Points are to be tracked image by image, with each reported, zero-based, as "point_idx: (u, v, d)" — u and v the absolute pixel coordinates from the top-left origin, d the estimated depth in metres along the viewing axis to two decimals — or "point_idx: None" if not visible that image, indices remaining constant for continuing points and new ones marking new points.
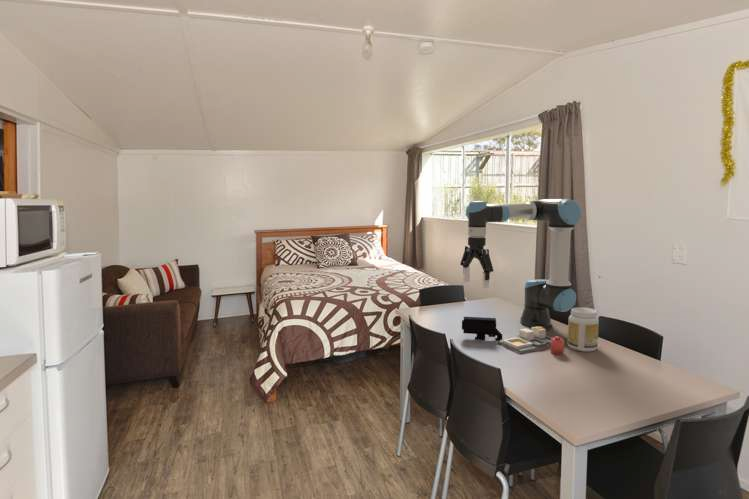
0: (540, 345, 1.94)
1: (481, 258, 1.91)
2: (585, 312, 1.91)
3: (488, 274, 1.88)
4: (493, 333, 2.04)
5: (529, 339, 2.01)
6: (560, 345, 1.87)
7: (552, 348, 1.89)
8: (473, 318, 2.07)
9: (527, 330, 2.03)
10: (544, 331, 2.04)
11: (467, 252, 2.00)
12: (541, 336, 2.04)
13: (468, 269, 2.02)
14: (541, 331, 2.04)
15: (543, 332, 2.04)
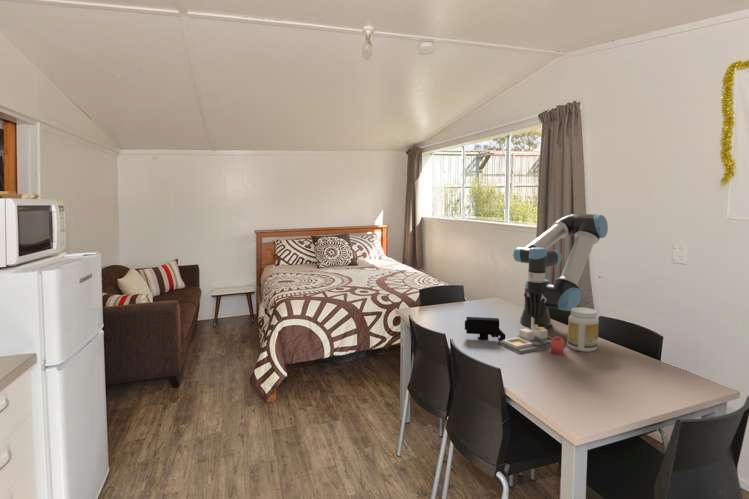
0: (540, 345, 1.94)
1: (537, 303, 2.04)
2: (585, 312, 1.91)
3: (537, 319, 2.06)
4: (496, 333, 2.04)
5: (529, 339, 2.01)
6: (560, 345, 1.87)
7: (552, 348, 1.89)
8: (476, 318, 2.07)
9: (527, 330, 2.03)
10: (546, 332, 2.04)
11: (528, 298, 2.10)
12: (543, 337, 2.03)
13: None
14: (543, 332, 2.03)
15: (545, 333, 2.03)
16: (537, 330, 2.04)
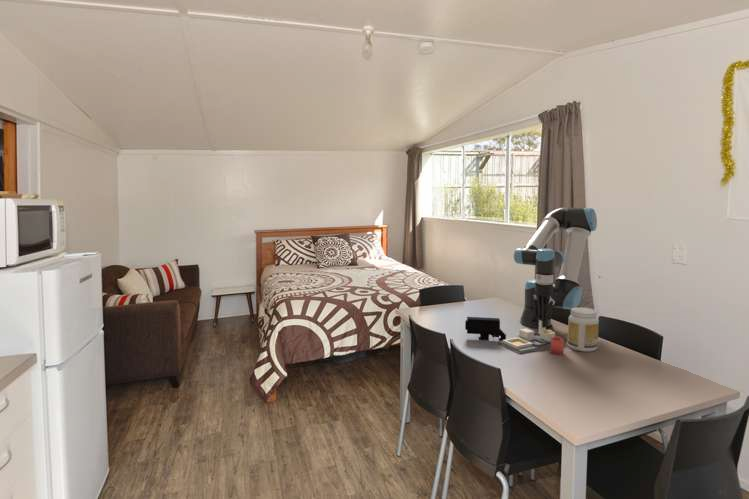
0: (540, 345, 1.94)
1: (545, 306, 2.00)
2: (585, 312, 1.91)
3: (545, 322, 2.02)
4: (497, 333, 2.04)
5: (529, 339, 2.01)
6: (560, 345, 1.87)
7: (552, 348, 1.89)
8: (477, 318, 2.07)
9: (527, 330, 2.03)
10: (554, 335, 1.99)
11: (536, 300, 2.06)
12: (550, 340, 1.99)
13: None
14: (550, 335, 1.99)
15: (553, 336, 1.99)
16: (545, 333, 2.00)
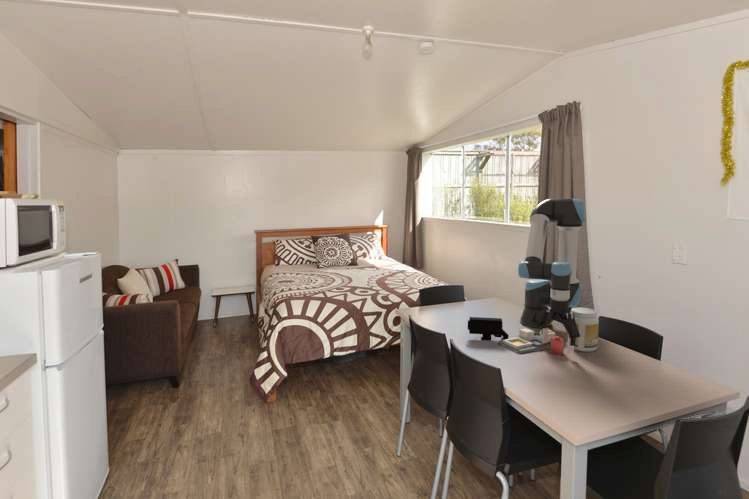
0: (540, 345, 1.94)
1: (565, 322, 1.84)
2: (585, 312, 1.91)
3: (574, 339, 1.81)
4: (499, 333, 2.03)
5: (529, 339, 2.01)
6: (560, 345, 1.87)
7: (552, 348, 1.89)
8: (479, 318, 2.07)
9: (527, 330, 2.03)
10: (554, 335, 1.99)
11: (547, 313, 1.93)
12: None
13: (547, 330, 1.95)
14: (551, 335, 1.99)
15: (553, 336, 1.99)
16: None
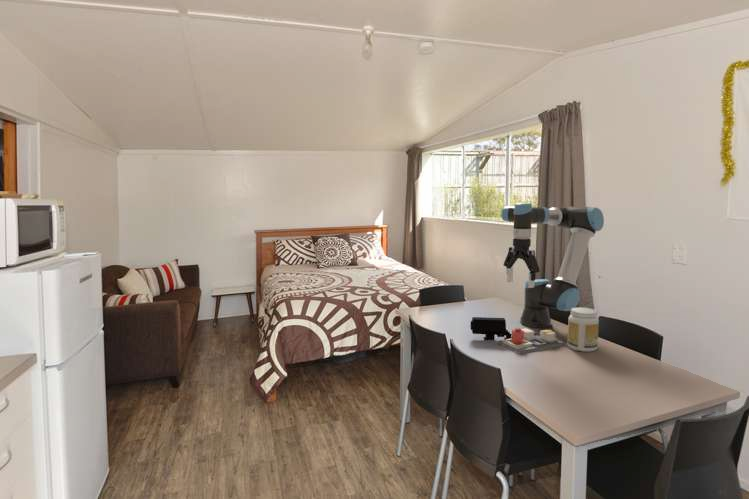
0: (540, 345, 1.94)
1: (527, 259, 1.95)
2: (585, 312, 1.91)
3: (534, 274, 1.93)
4: (503, 333, 2.04)
5: (529, 339, 2.01)
6: (520, 337, 1.94)
7: (512, 339, 1.96)
8: (482, 318, 2.07)
9: (527, 330, 2.03)
10: (554, 335, 1.99)
11: (511, 253, 2.04)
12: (551, 340, 1.99)
13: (511, 270, 2.06)
14: (551, 335, 1.99)
15: (553, 336, 1.99)
16: (545, 333, 2.00)
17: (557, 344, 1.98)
